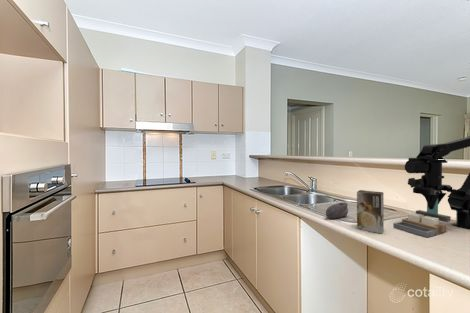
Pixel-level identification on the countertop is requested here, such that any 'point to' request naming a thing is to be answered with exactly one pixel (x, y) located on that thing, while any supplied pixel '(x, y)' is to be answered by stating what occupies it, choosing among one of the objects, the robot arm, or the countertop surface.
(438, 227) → the walnut board
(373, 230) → the coffee box
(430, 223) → the tile
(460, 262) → the countertop surface
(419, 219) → the tile
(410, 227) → the box
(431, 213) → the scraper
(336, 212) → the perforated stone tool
